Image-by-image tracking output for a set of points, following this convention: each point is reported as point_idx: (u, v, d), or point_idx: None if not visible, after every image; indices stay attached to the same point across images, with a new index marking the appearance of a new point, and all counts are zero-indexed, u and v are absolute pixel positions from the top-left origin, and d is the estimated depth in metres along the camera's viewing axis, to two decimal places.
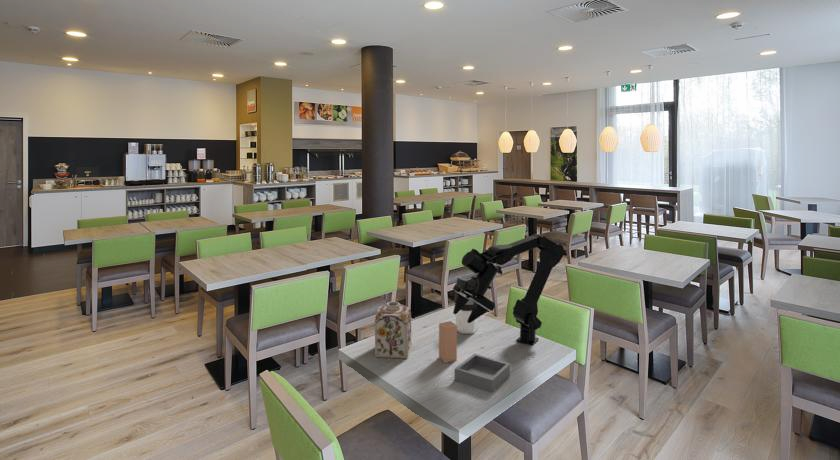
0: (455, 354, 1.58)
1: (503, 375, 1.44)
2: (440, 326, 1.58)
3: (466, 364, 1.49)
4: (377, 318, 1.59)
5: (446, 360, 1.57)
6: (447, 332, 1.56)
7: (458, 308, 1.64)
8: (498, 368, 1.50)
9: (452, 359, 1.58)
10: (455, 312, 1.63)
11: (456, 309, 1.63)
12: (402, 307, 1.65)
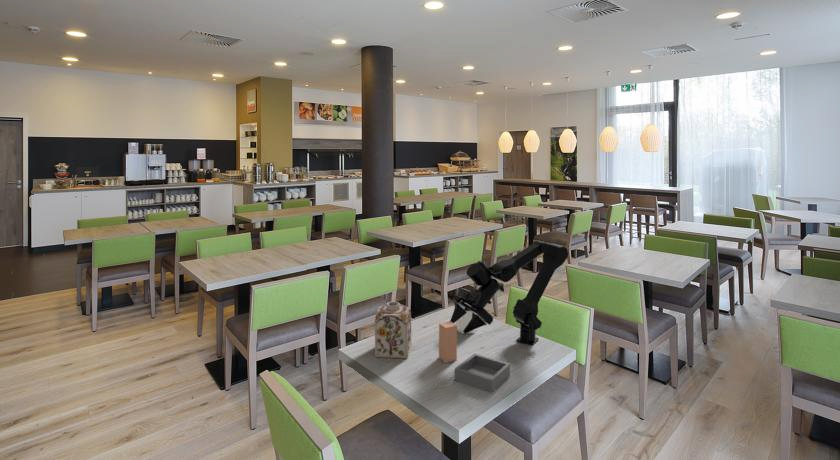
0: (455, 354, 1.58)
1: (503, 375, 1.44)
2: (440, 326, 1.58)
3: (466, 364, 1.49)
4: (377, 318, 1.59)
5: (446, 360, 1.57)
6: (447, 332, 1.56)
7: (455, 318, 1.65)
8: (498, 368, 1.50)
9: (452, 359, 1.58)
10: None
11: (453, 319, 1.64)
12: (402, 307, 1.65)
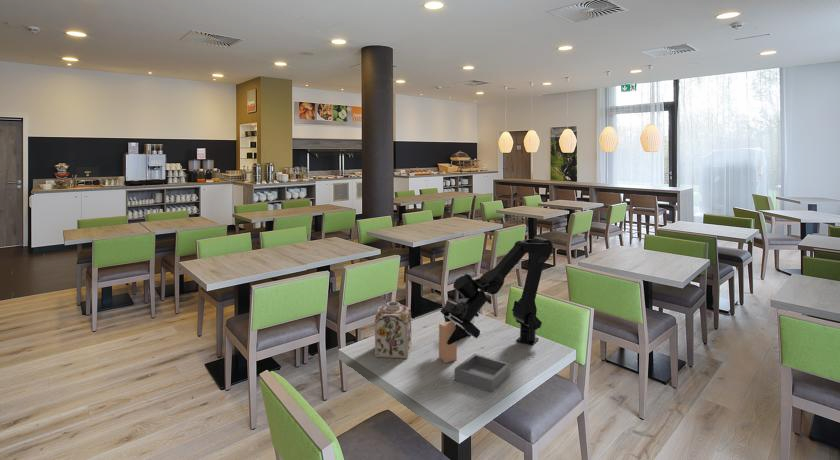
0: (455, 354, 1.58)
1: (503, 375, 1.44)
2: (440, 326, 1.58)
3: (466, 364, 1.49)
4: (377, 318, 1.59)
5: (446, 360, 1.57)
6: (447, 332, 1.56)
7: None
8: (498, 368, 1.50)
9: (452, 359, 1.58)
10: None
11: None
12: (402, 307, 1.65)
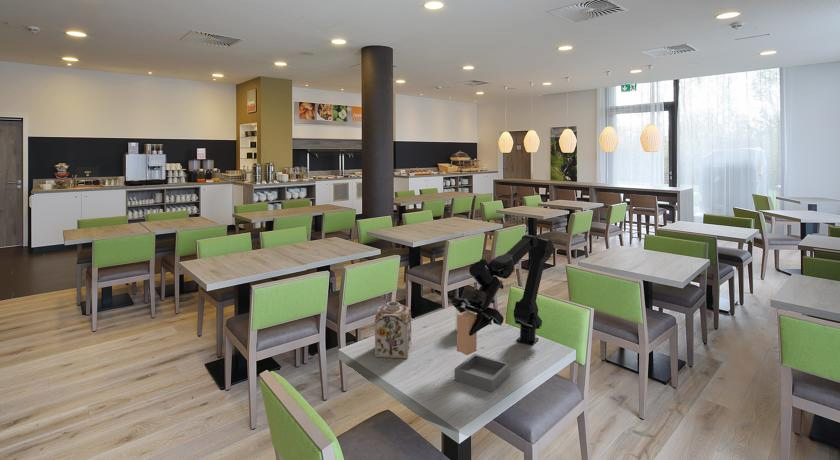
0: (475, 345, 1.50)
1: (503, 375, 1.44)
2: (459, 317, 1.48)
3: (466, 364, 1.49)
4: (377, 318, 1.59)
5: (467, 353, 1.47)
6: (469, 322, 1.46)
7: None
8: (498, 368, 1.50)
9: (473, 351, 1.49)
10: None
11: None
12: (402, 307, 1.65)
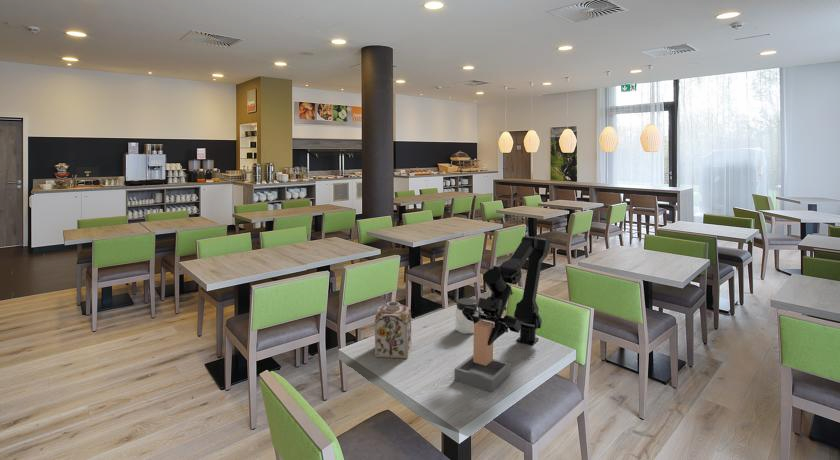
0: (492, 354, 1.46)
1: (503, 375, 1.44)
2: (476, 327, 1.43)
3: (466, 364, 1.49)
4: (377, 318, 1.59)
5: (486, 363, 1.43)
6: (488, 332, 1.42)
7: None
8: (498, 368, 1.50)
9: (490, 360, 1.45)
10: None
11: None
12: (402, 307, 1.65)
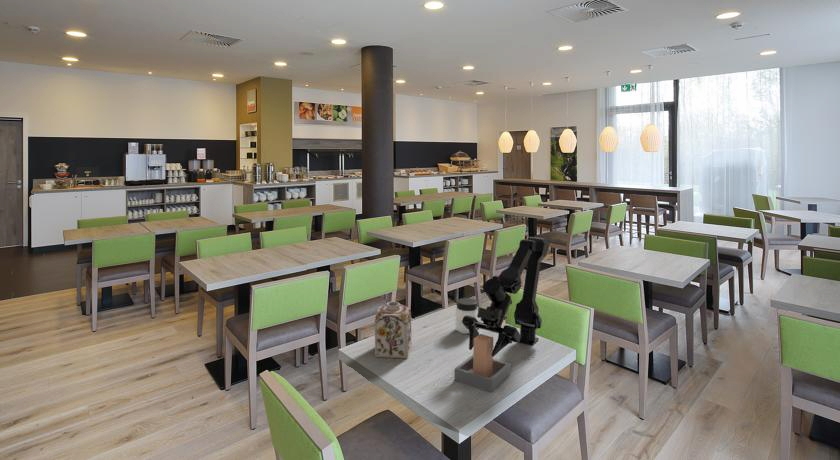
0: (491, 368, 1.47)
1: (503, 375, 1.44)
2: (476, 341, 1.44)
3: (466, 364, 1.49)
4: (377, 318, 1.59)
5: None
6: (487, 346, 1.43)
7: (473, 343, 1.48)
8: (498, 368, 1.50)
9: (489, 374, 1.46)
10: (471, 347, 1.47)
11: (472, 344, 1.47)
12: (402, 307, 1.65)
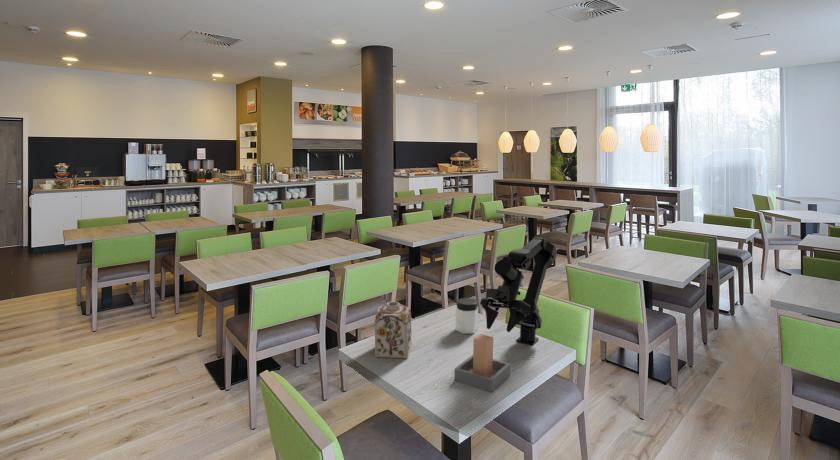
0: (491, 368, 1.47)
1: (503, 375, 1.44)
2: (476, 341, 1.44)
3: (466, 364, 1.49)
4: (377, 318, 1.59)
5: None
6: (487, 346, 1.43)
7: (491, 322, 1.57)
8: (498, 368, 1.50)
9: (489, 374, 1.46)
10: (489, 326, 1.56)
11: (489, 323, 1.56)
12: (402, 307, 1.65)
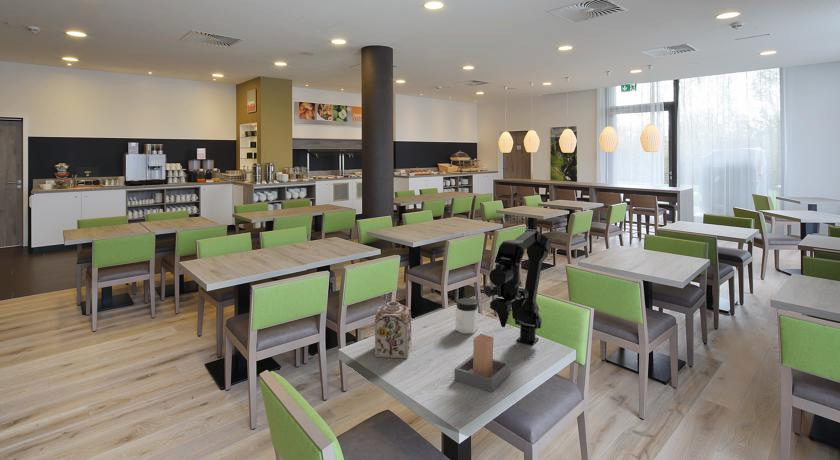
0: (491, 368, 1.47)
1: (503, 375, 1.44)
2: (476, 341, 1.44)
3: (466, 364, 1.49)
4: (377, 318, 1.59)
5: None
6: (487, 346, 1.43)
7: (516, 312, 1.61)
8: (498, 368, 1.50)
9: (489, 374, 1.46)
10: (514, 317, 1.61)
11: (513, 313, 1.61)
12: (402, 307, 1.65)
